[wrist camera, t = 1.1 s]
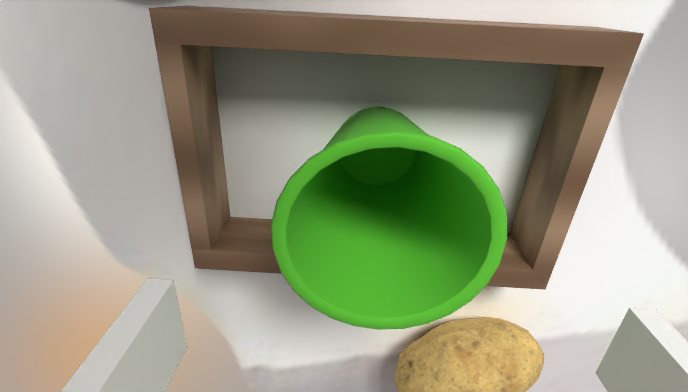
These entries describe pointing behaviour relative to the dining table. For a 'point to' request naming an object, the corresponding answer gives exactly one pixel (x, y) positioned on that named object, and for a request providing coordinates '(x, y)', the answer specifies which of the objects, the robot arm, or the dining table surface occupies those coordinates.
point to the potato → (471, 358)
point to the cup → (388, 225)
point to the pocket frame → (391, 40)
